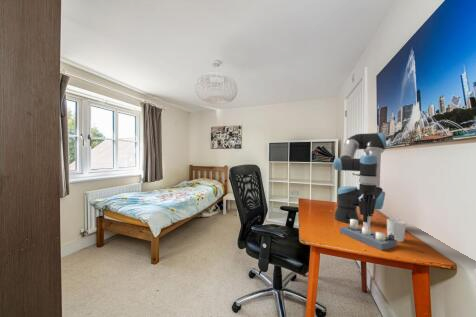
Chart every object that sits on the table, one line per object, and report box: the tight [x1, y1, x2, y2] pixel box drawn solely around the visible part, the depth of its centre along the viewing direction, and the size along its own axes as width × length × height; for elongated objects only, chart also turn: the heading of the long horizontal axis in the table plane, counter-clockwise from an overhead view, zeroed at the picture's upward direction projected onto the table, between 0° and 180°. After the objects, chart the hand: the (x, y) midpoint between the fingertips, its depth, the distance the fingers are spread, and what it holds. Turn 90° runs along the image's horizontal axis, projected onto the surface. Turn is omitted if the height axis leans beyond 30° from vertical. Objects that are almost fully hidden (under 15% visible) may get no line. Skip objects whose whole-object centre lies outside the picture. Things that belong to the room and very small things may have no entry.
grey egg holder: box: [339, 225, 398, 251], centre depth 102 cm, size 12×22×6 cm, turn 23°
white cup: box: [386, 218, 407, 243], centre depth 102 cm, size 8×8×10 cm
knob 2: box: [375, 231, 387, 242], centre depth 95 cm, size 4×4×5 cm
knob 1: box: [349, 219, 359, 230], centre depth 108 cm, size 4×4×5 cm
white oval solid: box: [361, 226, 372, 236], centre depth 102 cm, size 4×4×5 cm
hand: (366, 227), depth 102 cm, fingers closed
